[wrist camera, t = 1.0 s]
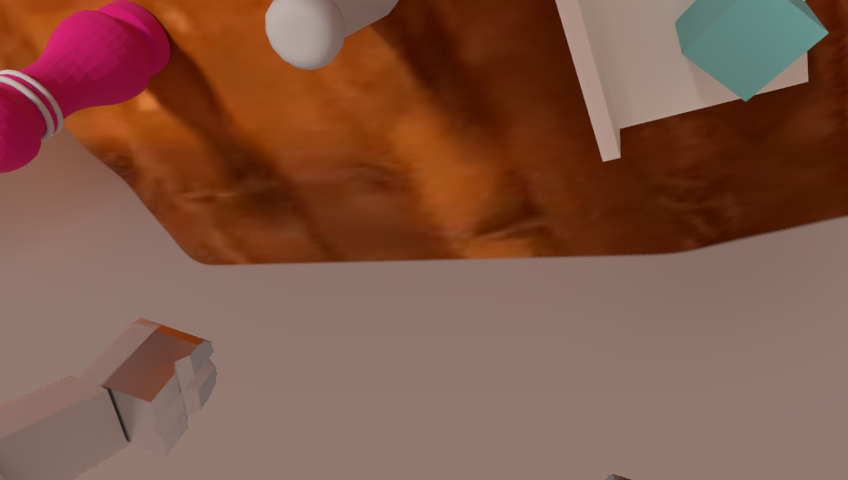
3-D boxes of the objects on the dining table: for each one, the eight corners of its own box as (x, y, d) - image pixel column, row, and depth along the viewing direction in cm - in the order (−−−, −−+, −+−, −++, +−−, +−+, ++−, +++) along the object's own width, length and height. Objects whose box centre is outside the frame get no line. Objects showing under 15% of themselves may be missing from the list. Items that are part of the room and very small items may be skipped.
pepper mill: (119, -26, 43) (-121, 85, 29) (191, 46, 46) (4, 180, 32) (86, 27, 48) (-138, 146, 33) (154, 90, 51) (-26, 225, 36)
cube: (674, 22, 35) (681, 54, 31) (742, -50, 31) (759, -23, 28) (732, 66, 36) (745, 101, 32) (804, 1, 32) (828, 33, 29)
